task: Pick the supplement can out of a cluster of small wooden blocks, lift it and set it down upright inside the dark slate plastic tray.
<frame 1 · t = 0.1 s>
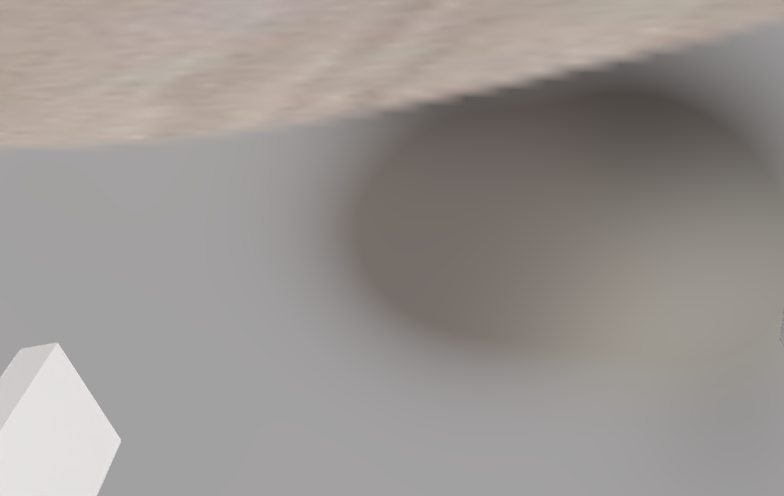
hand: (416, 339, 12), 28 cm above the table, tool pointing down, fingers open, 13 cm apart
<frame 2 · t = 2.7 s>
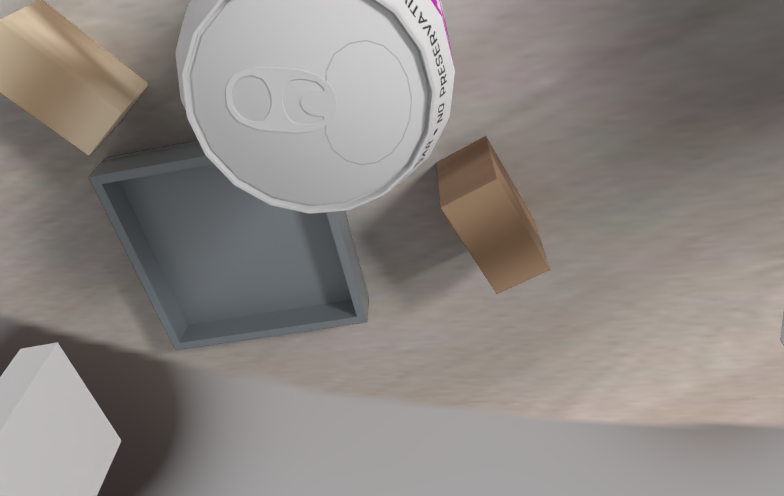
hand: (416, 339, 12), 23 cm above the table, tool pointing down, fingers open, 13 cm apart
walnut block: (486, 191, 37), on the table
tan block: (82, 64, 33), on the table
tray: (245, 232, 38), on the table
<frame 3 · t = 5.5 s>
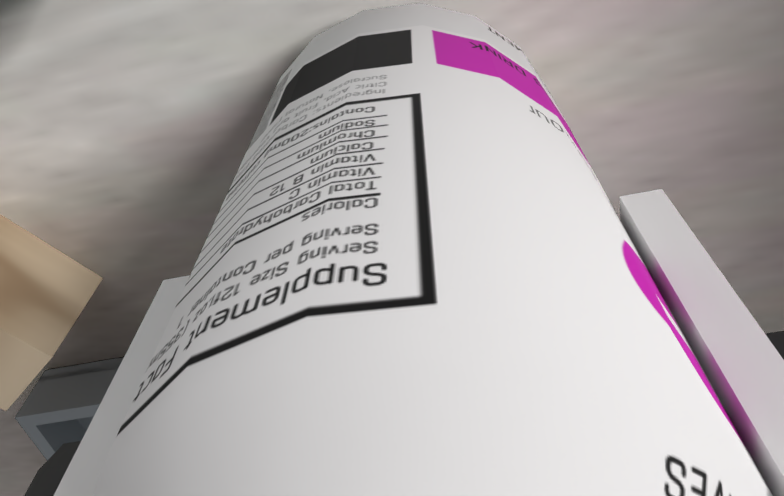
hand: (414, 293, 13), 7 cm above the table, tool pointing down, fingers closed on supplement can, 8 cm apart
supplement can: (409, 140, 20), on the table, touching gripper
tan block: (0, 253, 22), on the table
tray: (252, 454, 27), on the table
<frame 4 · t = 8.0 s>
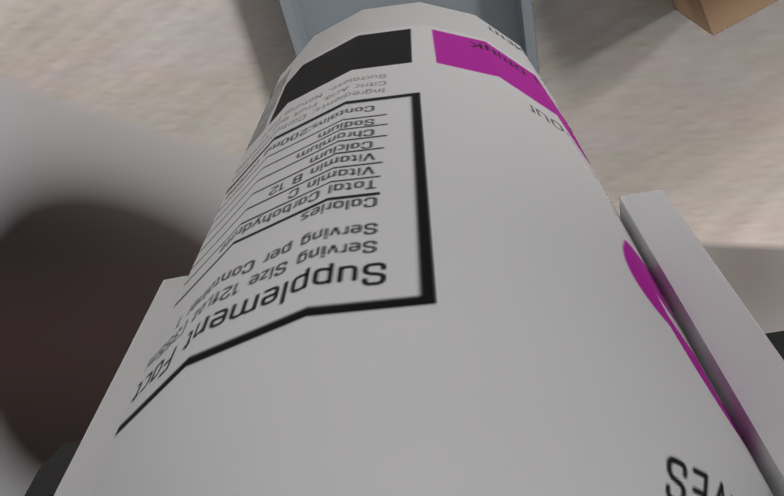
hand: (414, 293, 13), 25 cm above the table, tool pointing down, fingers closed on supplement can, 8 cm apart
supplement can: (409, 139, 20), point 18 cm above the table, touching gripper
tray: (407, 3, 35), on the table
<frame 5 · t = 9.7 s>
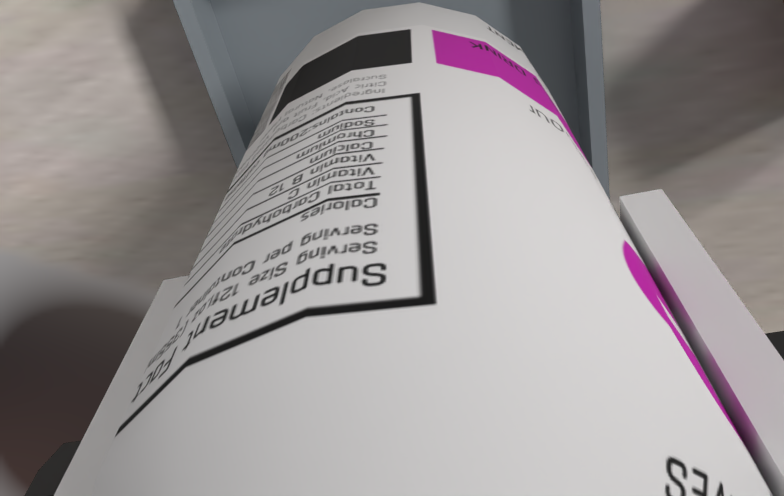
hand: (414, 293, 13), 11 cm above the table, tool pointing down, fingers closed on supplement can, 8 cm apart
supplement can: (409, 140, 20), point 4 cm above the table, touching gripper
tray: (410, 92, 23), on the table
when the fingers open (9 cm above the table, at t = 10.9 s): supplement can drops 2 cm, resting on tray.
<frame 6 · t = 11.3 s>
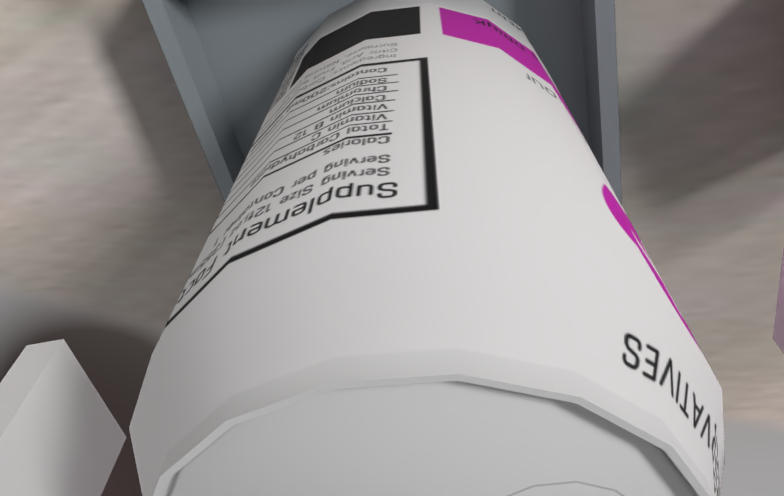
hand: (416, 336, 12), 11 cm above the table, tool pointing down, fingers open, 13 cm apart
supplement can: (415, 115, 21), resting on tray
tray: (408, 114, 21), on the table
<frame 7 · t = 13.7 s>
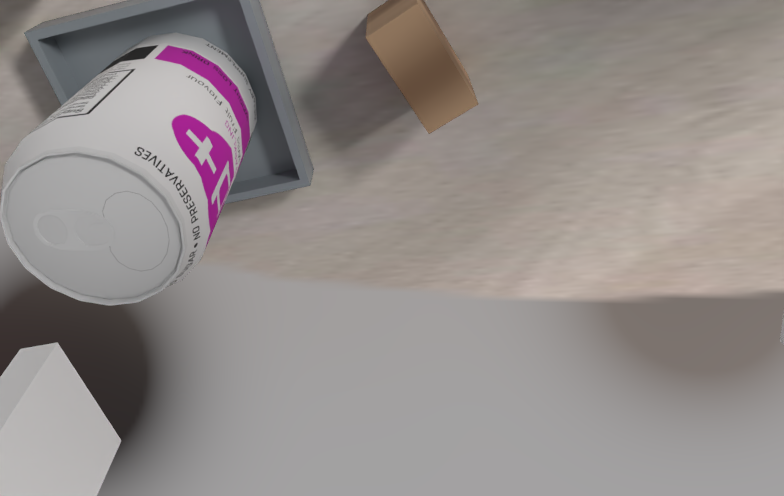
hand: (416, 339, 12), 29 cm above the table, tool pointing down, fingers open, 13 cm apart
walnut block: (418, 45, 38), on the table
supplement can: (188, 100, 39), resting on tray
tray: (186, 100, 39), on the table
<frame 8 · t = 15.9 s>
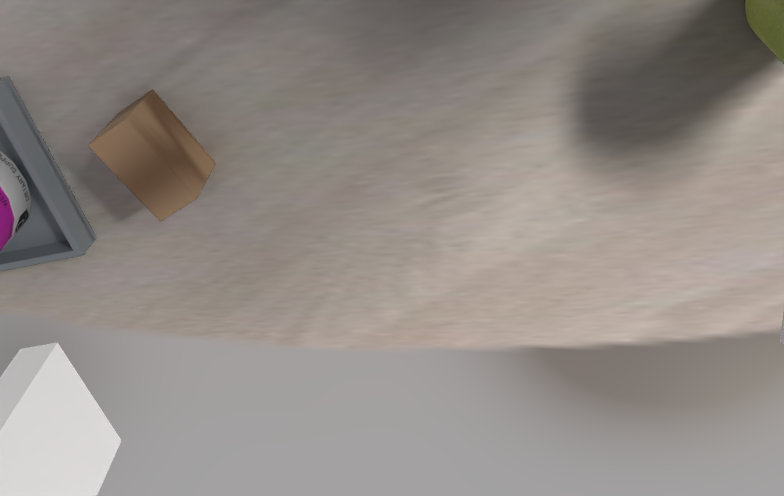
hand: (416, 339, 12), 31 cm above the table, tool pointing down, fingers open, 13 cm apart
walnut block: (168, 138, 43), on the table
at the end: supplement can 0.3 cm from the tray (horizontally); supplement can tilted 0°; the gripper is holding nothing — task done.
